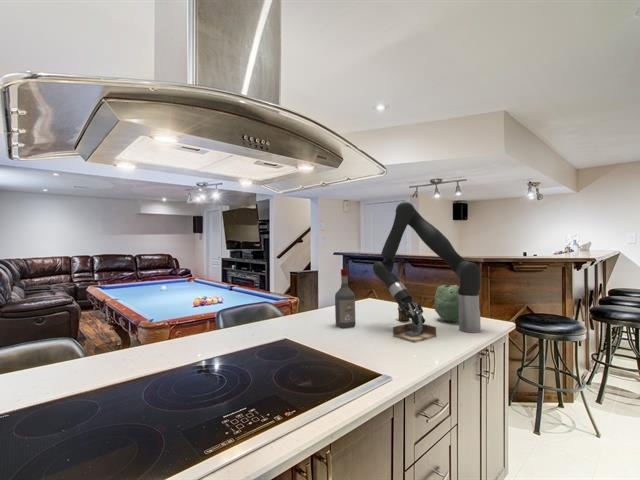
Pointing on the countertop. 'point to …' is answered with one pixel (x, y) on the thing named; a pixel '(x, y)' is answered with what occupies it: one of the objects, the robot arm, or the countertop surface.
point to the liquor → (345, 303)
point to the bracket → (416, 327)
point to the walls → (408, 327)
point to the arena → (415, 337)
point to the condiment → (403, 317)
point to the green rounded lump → (447, 302)
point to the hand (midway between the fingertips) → (420, 322)
